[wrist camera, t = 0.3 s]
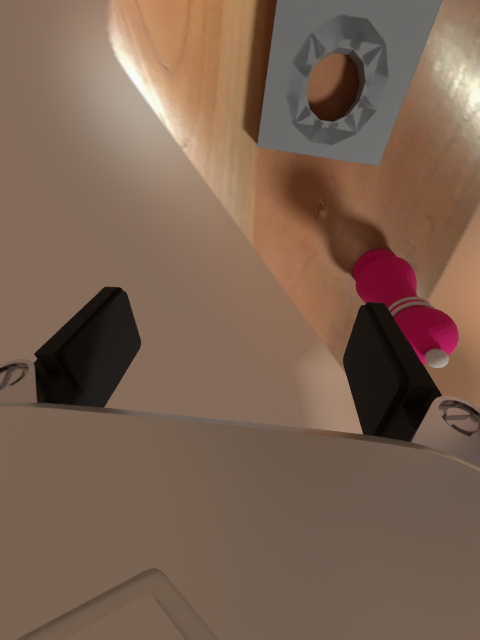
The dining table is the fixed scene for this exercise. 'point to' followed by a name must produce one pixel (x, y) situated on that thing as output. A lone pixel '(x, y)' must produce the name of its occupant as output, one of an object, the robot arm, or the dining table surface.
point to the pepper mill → (406, 305)
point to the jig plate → (372, 64)
